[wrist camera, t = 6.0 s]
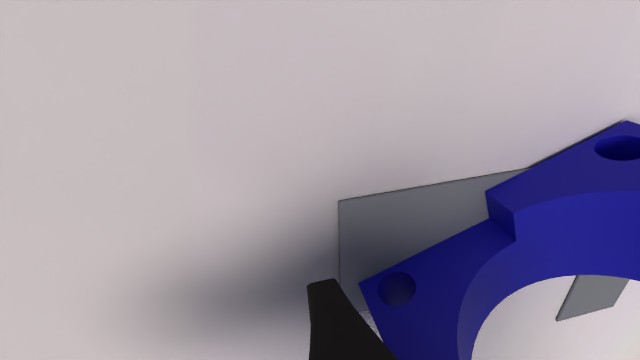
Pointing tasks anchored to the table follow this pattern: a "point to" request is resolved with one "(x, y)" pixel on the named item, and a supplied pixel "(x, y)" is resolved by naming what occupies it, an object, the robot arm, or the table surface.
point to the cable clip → (516, 247)
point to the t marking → (434, 236)
